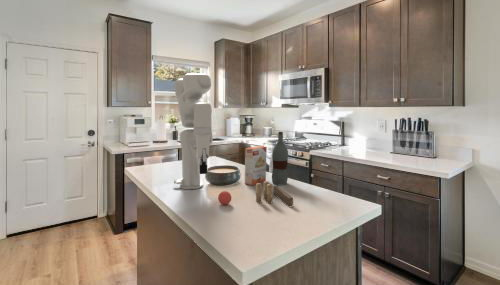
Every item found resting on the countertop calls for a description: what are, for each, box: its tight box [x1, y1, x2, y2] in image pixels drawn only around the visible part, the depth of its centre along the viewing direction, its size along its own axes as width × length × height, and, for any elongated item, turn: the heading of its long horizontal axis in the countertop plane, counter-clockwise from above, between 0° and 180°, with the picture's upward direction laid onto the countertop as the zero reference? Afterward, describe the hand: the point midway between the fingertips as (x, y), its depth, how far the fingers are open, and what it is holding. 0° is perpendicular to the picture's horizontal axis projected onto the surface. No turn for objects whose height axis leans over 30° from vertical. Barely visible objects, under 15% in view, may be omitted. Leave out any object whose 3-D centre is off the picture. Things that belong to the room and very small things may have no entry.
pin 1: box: [263, 180, 270, 201], centre depth 136 cm, size 2×2×8 cm
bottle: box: [271, 131, 289, 186], centre depth 163 cm, size 9×9×30 cm
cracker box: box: [244, 145, 268, 186], centre depth 165 cm, size 14×6×21 cm, turn 143°
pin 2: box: [266, 183, 273, 204], centre depth 131 cm, size 2×2×8 cm
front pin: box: [255, 182, 262, 203], centre depth 132 cm, size 2×2×8 cm
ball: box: [217, 190, 232, 205], centre depth 128 cm, size 6×6×6 cm
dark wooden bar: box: [273, 185, 294, 207], centre depth 135 cm, size 2×20×4 cm, turn 14°
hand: (203, 173), depth 124 cm, fingers closed
